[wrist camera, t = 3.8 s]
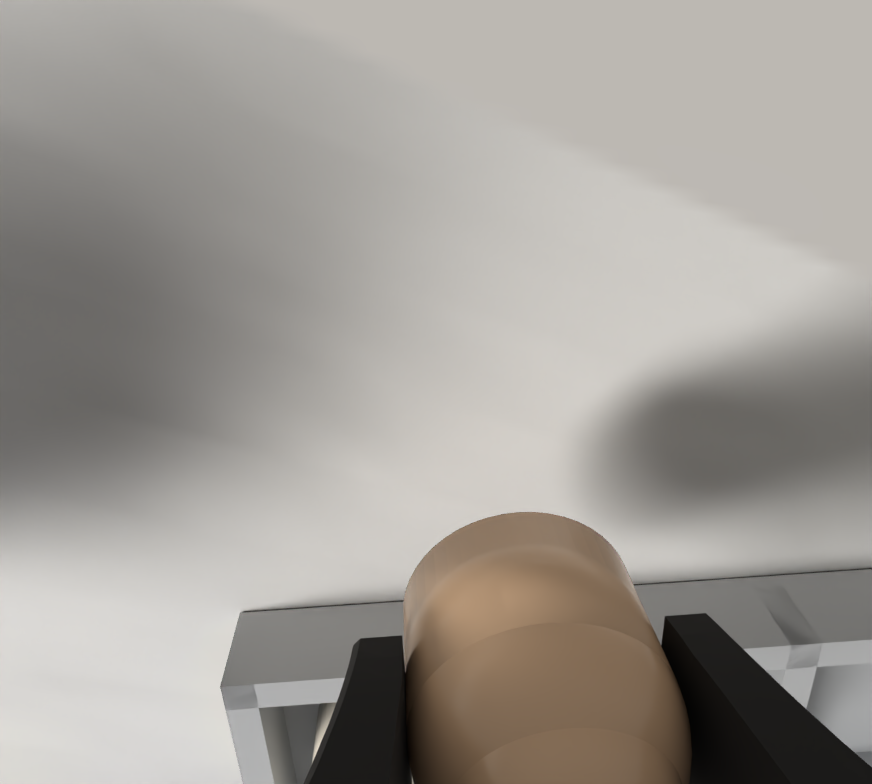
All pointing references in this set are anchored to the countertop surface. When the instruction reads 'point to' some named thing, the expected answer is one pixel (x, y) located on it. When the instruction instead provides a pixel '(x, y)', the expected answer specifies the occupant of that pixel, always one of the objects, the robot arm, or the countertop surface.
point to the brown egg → (536, 663)
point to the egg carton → (720, 599)
